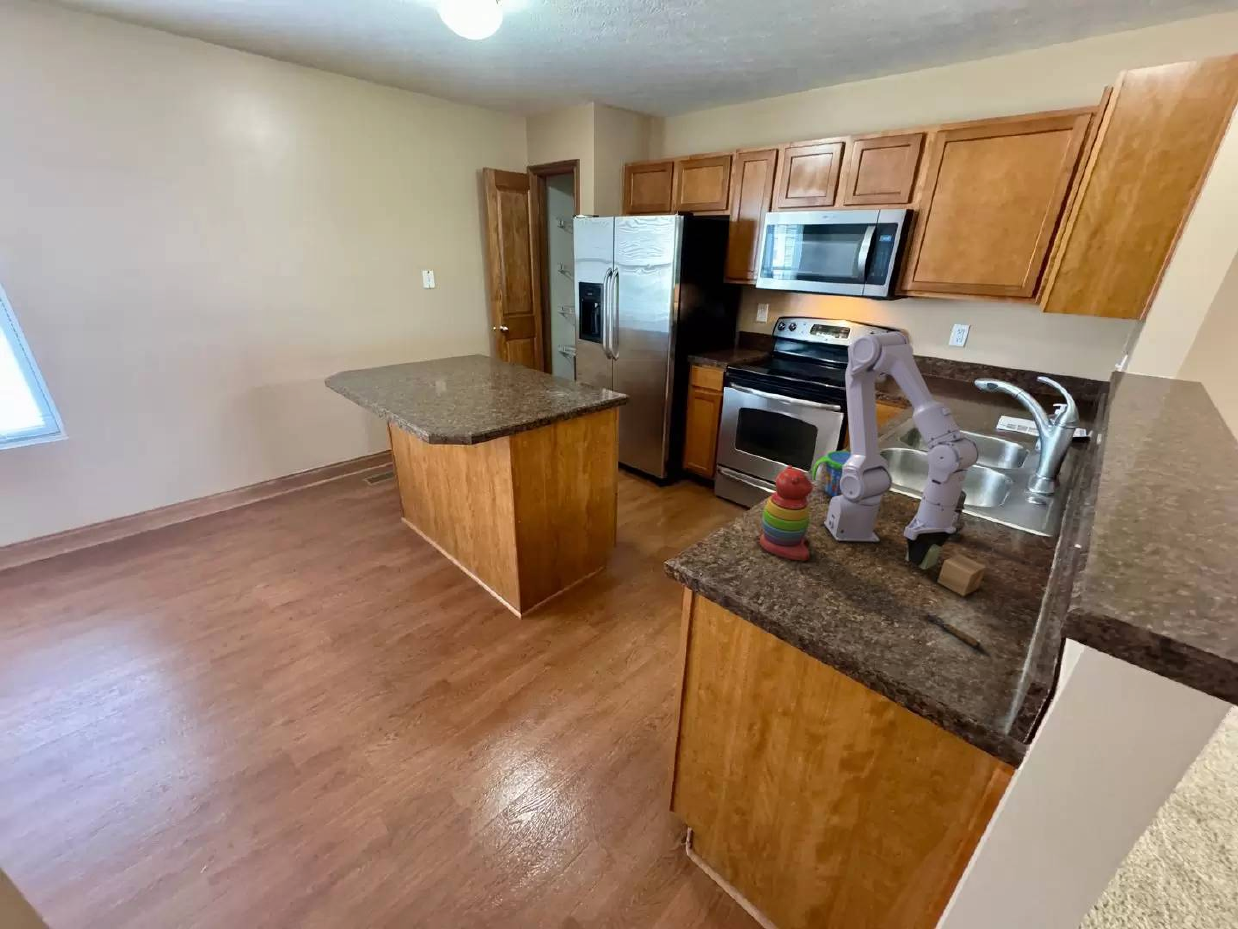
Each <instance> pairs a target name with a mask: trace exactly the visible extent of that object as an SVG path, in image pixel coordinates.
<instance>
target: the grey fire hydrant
mask: <svg viewBox="0 0 1238 929" xmlns="http://www.w3.org/2000/svg"><path fill="white" fill-rule="evenodd" d="M966 499H967V493H966V492H965V491H963V489H962V490H961V493H960V496H959V499H958V502H957V505H956V508H955V511H954V512H956V513H958V514H959V515H958V519H957V522H955V523H953V524H952V526H953V527H955V528H956V532H955V534H954V535H953V536H951V537H950V538H949V539H948V540H947V541H958V540H959V539H960V535H959V534H958V533H960V532H961V531H962V530H963V528H965V527H966V522H965V521H964V520H963V519H961V515H962V512H963V510H965V509H966V508H965V506H964V505H965V502H966Z"/></svg>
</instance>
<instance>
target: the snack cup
mask: <svg viewBox="0 0 1238 929" xmlns="http://www.w3.org/2000/svg"><path fill="white" fill-rule="evenodd" d="M850 456H851V451H846V450H845V451H844V450H843V451H842V450H833V451H830V452H828V453H827V454H826V455H825V456H823V457H821V458H819V459H817V461H816V462H815V463H814V465H813V468H812V471H811V472H812V480H813V481H816V480H817V479H816V475H817V473H818V472H817V471H818V469H819V466H820V465H821V464H823V463H825V464H826V466H825V468H826V470H825V489H824V491H825V493H827V494H828V495H829V496H831V497H832V498H833V497H835V496H840V495H843V493H842V492H841V489H840V480H841V477H842V467H843V465H844V464H845V463H846V461H847V460H848V459H849V458H850Z"/></svg>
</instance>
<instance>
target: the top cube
mask: <svg viewBox="0 0 1238 929" xmlns="http://www.w3.org/2000/svg"><path fill="white" fill-rule="evenodd" d="M941 550H942V547H940V546H938V545H936V544H933V545H932V546H931V548H930V549H929V550H928V552H927V554H926V556H925V558H924V560H923V562H922V563H921V565H920V566H917V567H919V568H920V569H922V570H927V569H930V568H931V567H933V566H935V565H937V562H938V559H939V556H940V553H941ZM905 560H906V561H907V562H909V559H908V551H907V552H906V556H905Z"/></svg>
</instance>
